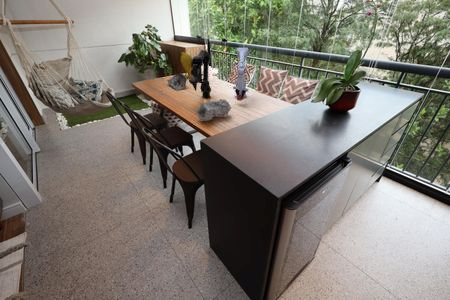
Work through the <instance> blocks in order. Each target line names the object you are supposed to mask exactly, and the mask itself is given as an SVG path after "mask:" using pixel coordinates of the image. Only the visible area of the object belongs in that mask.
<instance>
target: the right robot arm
mask: <svg viewBox="0 0 450 300" xmlns="http://www.w3.org/2000/svg"><path fill="white" fill-rule="evenodd" d="M248 55H249V48H248V47H237V48H236V57H237V58H238V60H239V61H238V62H237V63H238V64H237V72H236V73H237V74H236V75H237V78H236V79H235V85H233V86H232V90H234V92H235V96H234V97H235V98H237V95H239V94H242V99H243V98H244V99H245V98H246V97H247V93H248V92H249V88H247V78H245V75H246V61H245V60H246V59H247V58H248ZM244 99H243V100H244Z"/></svg>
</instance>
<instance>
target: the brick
mask: <svg viewBox="0 0 450 300" xmlns="http://www.w3.org/2000/svg"><path fill="white" fill-rule="evenodd" d="M236 96H237V97H236V100H237V101H240V102H242V101H243V100H244V99H245V97H244V98H243V99H242V94H239V95H236Z"/></svg>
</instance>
